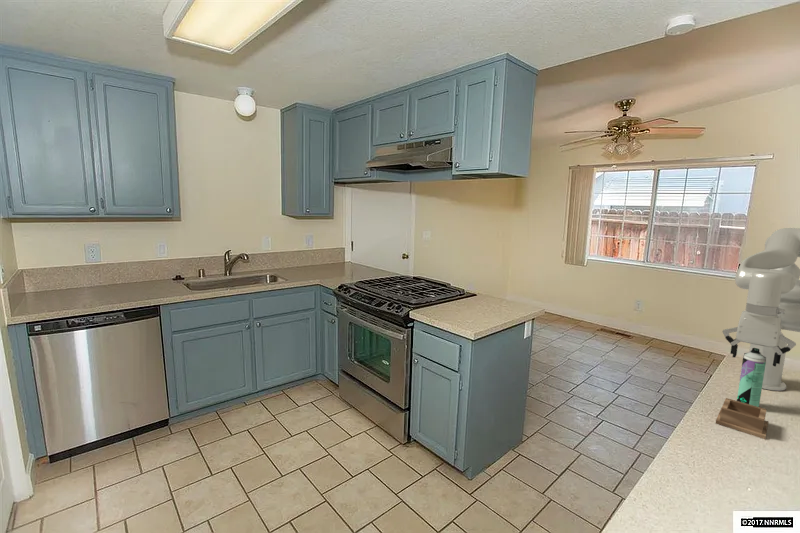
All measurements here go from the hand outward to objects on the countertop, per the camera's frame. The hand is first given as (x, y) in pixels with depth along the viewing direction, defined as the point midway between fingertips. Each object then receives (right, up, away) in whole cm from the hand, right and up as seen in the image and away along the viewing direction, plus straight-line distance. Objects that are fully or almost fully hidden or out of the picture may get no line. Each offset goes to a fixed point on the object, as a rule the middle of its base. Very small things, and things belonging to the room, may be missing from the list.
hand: (753, 360), depth 122 cm
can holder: (-11, -17, -8) cm, 22 cm away
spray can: (+1, -16, +3) cm, 16 cm away
